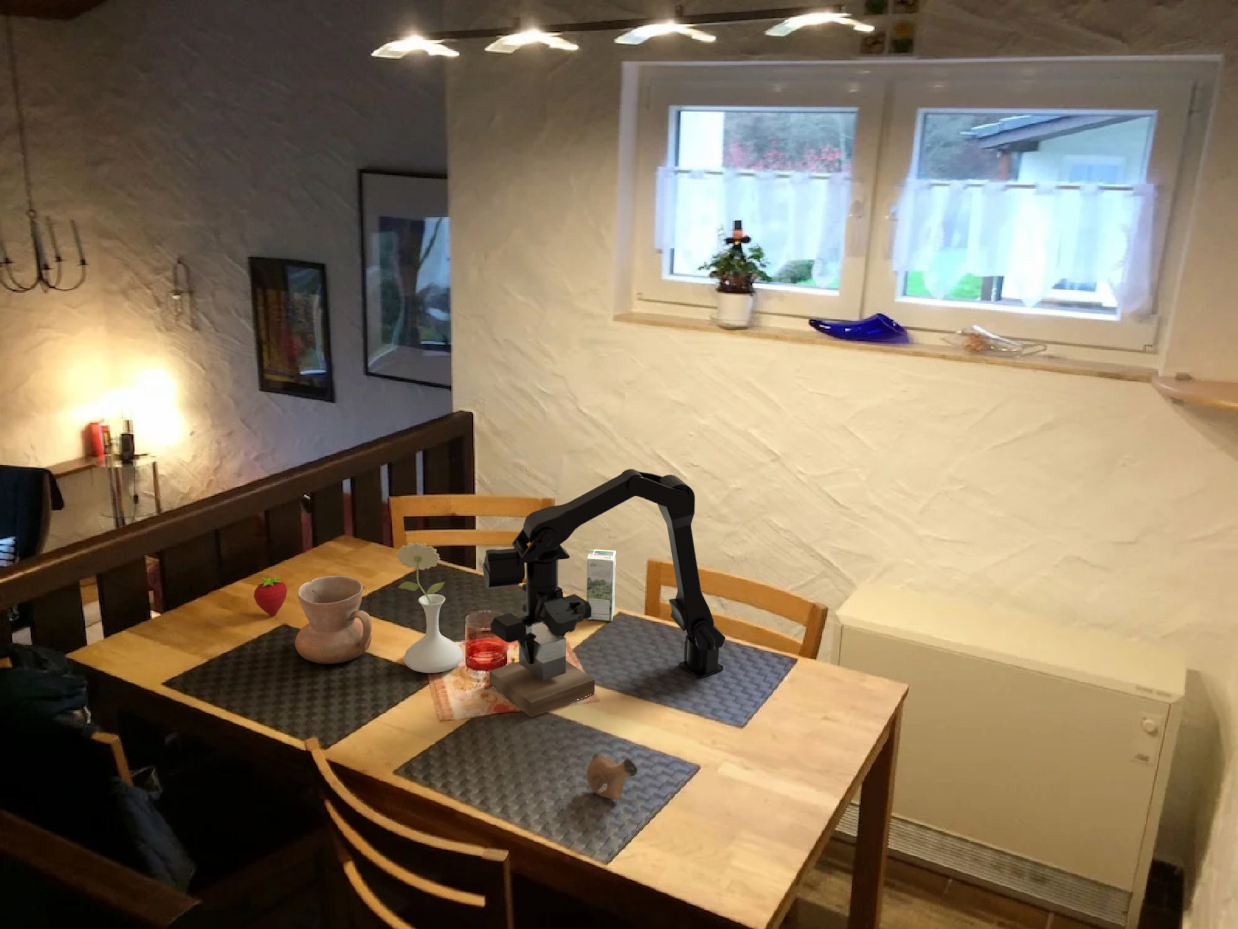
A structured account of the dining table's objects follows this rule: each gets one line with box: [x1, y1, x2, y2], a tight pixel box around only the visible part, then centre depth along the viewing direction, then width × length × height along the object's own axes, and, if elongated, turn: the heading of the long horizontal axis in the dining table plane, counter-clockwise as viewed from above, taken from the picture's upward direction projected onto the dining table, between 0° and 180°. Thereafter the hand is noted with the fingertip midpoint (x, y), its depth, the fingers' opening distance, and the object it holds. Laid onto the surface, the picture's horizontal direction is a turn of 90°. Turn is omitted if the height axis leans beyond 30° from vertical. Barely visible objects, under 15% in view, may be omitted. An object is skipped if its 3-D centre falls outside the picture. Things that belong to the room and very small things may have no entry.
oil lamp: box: [586, 752, 638, 801], centre depth 159 cm, size 9×4×8 cm, turn 58°
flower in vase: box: [395, 542, 464, 674], centre depth 196 cm, size 13×11×25 cm
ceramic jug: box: [294, 575, 373, 665], centre depth 200 cm, size 18×14×14 cm
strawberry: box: [253, 576, 288, 617], centre depth 217 cm, size 6×8×10 cm
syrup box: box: [585, 548, 617, 622], centre depth 220 cm, size 6×6×14 cm
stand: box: [489, 660, 596, 718], centre depth 191 cm, size 14×14×3 cm
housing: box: [518, 622, 567, 681], centre depth 189 cm, size 8×5×7 cm, turn 38°
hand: (542, 659), depth 189 cm, fingers closed on housing, 5 cm apart
